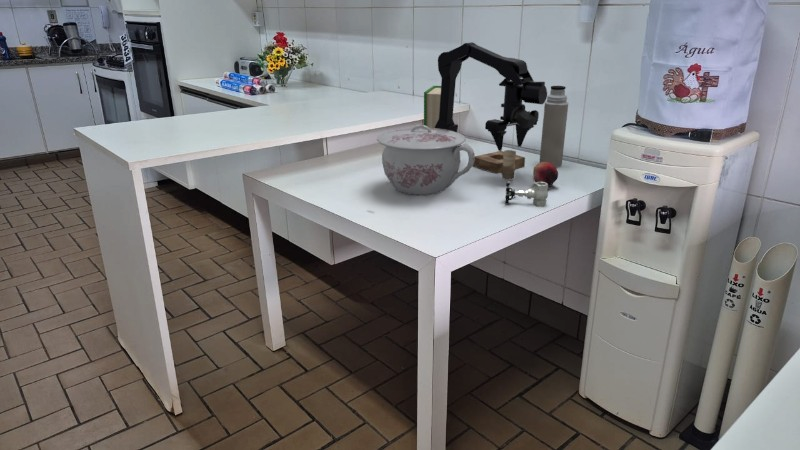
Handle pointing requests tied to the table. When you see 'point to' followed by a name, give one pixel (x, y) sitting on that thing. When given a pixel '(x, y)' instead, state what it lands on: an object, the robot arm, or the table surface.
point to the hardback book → (432, 106)
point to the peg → (508, 164)
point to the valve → (530, 193)
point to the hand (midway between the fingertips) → (509, 148)
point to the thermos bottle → (554, 126)
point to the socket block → (496, 162)
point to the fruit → (545, 173)
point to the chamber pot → (423, 158)
